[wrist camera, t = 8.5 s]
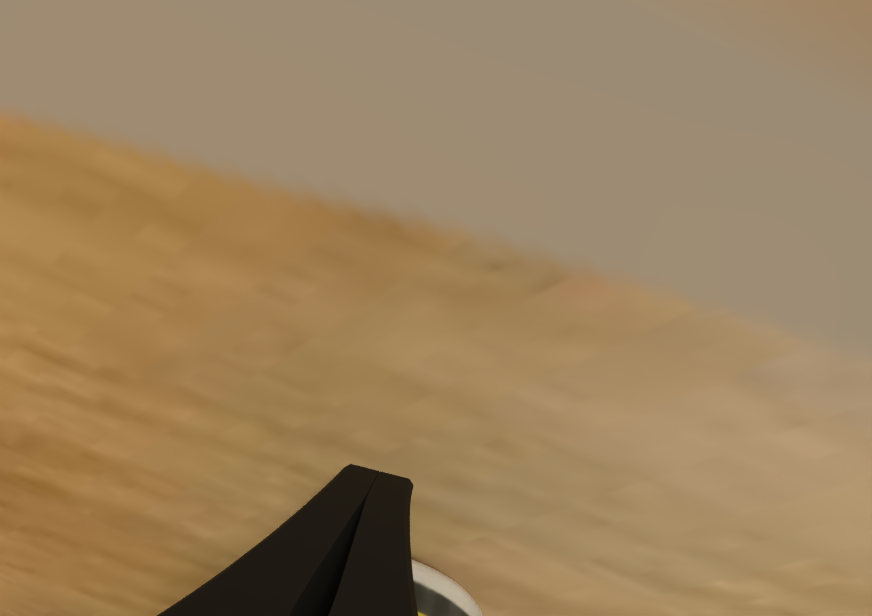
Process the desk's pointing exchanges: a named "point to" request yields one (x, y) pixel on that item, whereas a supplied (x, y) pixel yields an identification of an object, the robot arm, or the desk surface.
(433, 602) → the supplement bottle
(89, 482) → the desk surface
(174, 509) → the desk surface
